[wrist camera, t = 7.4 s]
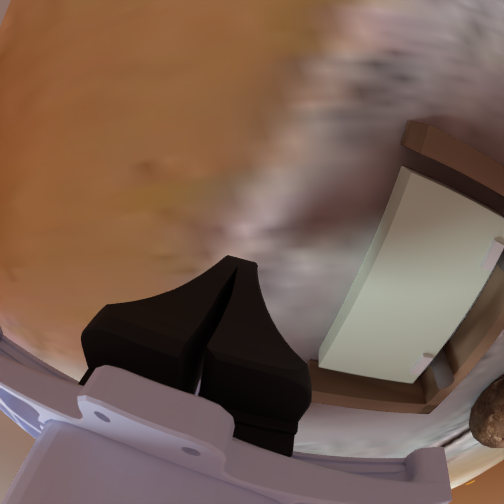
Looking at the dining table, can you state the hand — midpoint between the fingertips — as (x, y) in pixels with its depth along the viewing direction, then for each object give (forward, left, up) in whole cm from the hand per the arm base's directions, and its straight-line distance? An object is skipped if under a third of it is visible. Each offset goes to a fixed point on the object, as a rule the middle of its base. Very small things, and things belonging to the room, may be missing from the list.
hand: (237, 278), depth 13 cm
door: (0, -9, -3) cm, 10 cm away
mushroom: (-8, -26, -3) cm, 27 cm away
